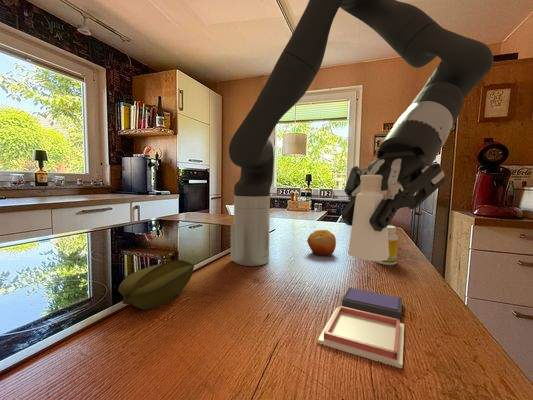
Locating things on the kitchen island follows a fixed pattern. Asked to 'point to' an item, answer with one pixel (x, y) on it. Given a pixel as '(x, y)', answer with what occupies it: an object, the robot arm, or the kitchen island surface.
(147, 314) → the kitchen island surface
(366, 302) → the ink pad
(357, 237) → the pepper shaker
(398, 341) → the pink and white tray
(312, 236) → the fruit
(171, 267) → the fruit
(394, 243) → the supplement bottle
